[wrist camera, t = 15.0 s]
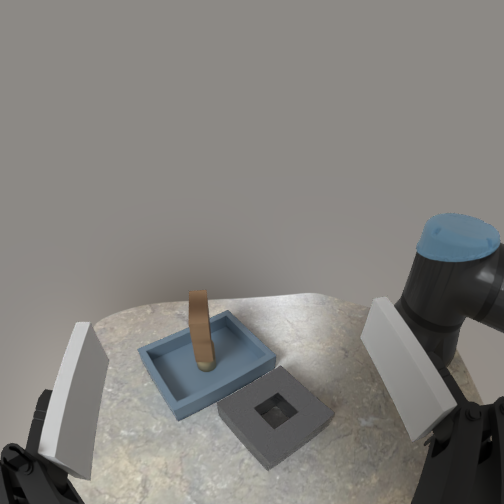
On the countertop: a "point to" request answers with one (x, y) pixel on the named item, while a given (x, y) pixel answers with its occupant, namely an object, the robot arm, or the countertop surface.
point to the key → (201, 331)
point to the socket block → (263, 399)
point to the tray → (206, 383)
